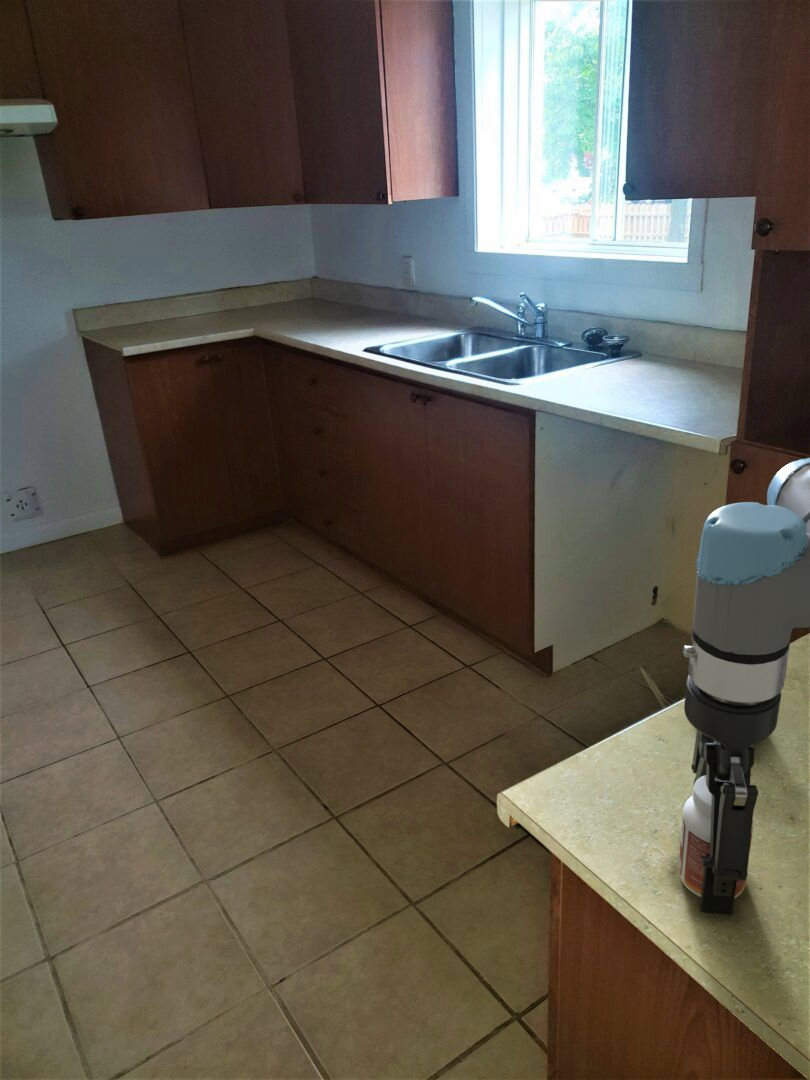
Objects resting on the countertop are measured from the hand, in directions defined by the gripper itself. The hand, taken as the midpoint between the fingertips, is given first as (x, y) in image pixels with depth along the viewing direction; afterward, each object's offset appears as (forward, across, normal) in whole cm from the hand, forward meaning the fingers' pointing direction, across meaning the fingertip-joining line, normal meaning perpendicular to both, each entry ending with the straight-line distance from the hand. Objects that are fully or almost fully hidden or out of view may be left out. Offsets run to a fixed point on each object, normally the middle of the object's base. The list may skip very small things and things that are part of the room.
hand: (709, 876), depth 79 cm
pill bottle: (0, 0, 0) cm, 0 cm away
